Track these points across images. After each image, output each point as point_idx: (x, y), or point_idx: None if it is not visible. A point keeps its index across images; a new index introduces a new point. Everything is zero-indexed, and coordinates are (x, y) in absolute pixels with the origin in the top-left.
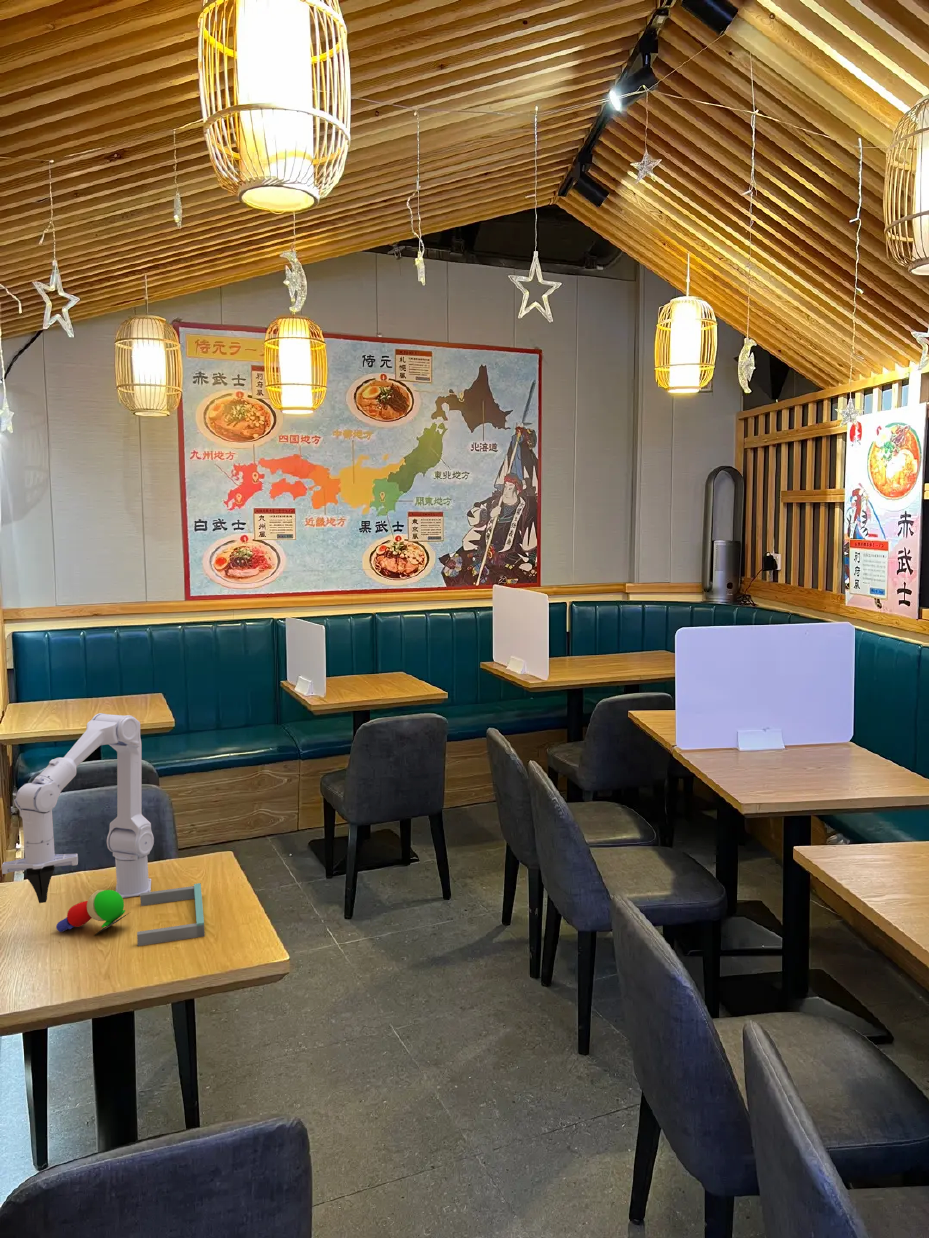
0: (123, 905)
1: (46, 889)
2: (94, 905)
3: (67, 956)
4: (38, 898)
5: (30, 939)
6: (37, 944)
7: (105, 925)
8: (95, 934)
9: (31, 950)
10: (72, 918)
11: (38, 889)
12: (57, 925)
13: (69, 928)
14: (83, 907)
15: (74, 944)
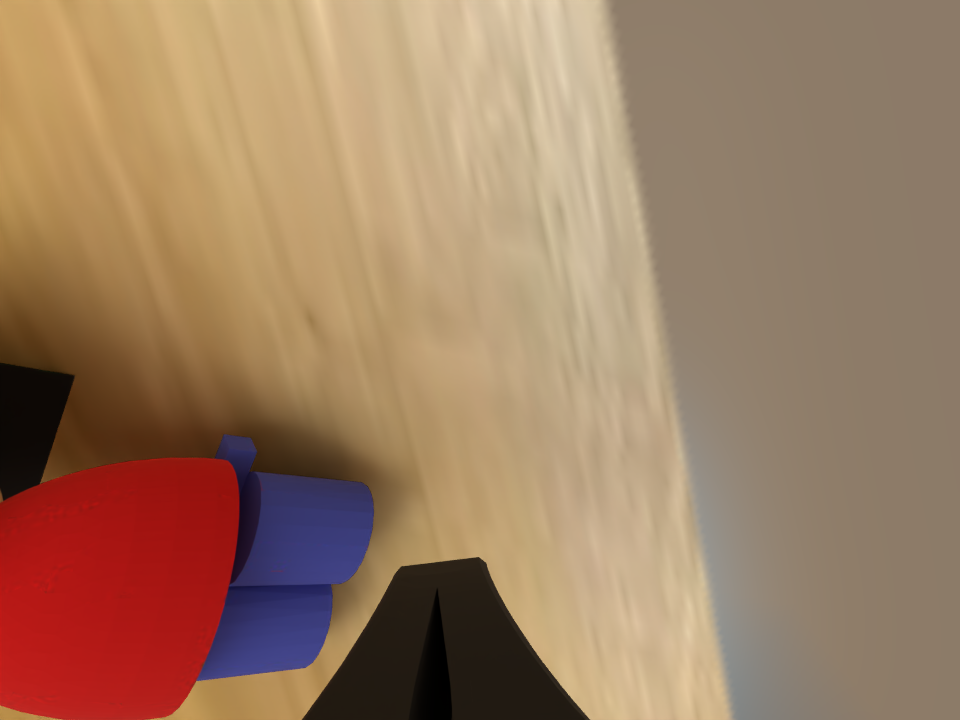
0: None
1: (327, 690)
2: None
3: (163, 16)
4: (484, 581)
5: (544, 420)
6: (473, 321)
7: None
8: (54, 381)
9: (494, 222)
10: (178, 471)
11: (481, 687)
12: (362, 511)
13: (247, 439)
14: (15, 550)
15: (178, 248)
